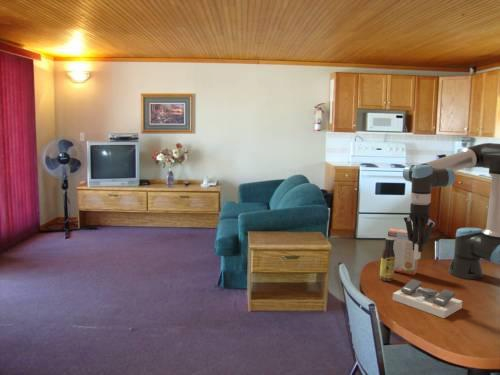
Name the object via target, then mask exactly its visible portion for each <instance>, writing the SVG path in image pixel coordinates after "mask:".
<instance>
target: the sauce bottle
mask: <svg viewBox="0 0 500 375" xmlns="http://www.w3.org/2000/svg"><path fill="white" fill-rule="evenodd" d="M384 244H385V245H384V249H383V250H382V252H381V259H380V265H379V266H380V267H379V268H380V269H379V280H381V281H384V282H392V281H393V279H394V276H395V275H394V274H395V272H394V265H395V254H394V249H393V248H394V247H393V245H394V239H393V238H388V237H385V243H384Z"/></svg>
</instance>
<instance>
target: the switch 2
mask: <svg viewBox="0 0 500 375" xmlns="http://www.w3.org/2000/svg"><path fill="white" fill-rule="evenodd" d="M438 293H439V294H438V295H437V296H436V297H435V298H434V299H433V303H436V304H438V305H441V306H445V305H446V304H447V303H448V302H449V301H450V300H451V299H452V298H454V297H455V296H456V292H455V291H452V290H449V289H446V288H444V289H442V290H441V291H440V292H438Z"/></svg>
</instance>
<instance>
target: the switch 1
mask: <svg viewBox="0 0 500 375" xmlns="http://www.w3.org/2000/svg"><path fill="white" fill-rule="evenodd" d="M421 286H423V282H422V281H420V280H416V279H413V278H412V279H410V280H409V281H408V282H407V283H406V284H405V285H404V286H402V287H401V288H400V290H401V292H403V293H406V294H409V295H411V294H412V293H413V292H415V291H416V290H417V289H418V288H419V287H420V288H421Z"/></svg>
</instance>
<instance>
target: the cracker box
mask: <svg viewBox="0 0 500 375" xmlns="http://www.w3.org/2000/svg"><path fill="white" fill-rule="evenodd" d="M418 237H419V233H418ZM387 238H393V239H394V245H393V247H394V248H393V249H394V254H395V265H394V273H400V274H406V275H410V276H415V275H416V273H417V272H418V260H419V259H418V260H416V259H414V250H413V249H412V248H413V242H412V241H409V240H408V234H407V229H400V228H393V227H391V228H389V229H388V230H387ZM417 243H418V242H417Z"/></svg>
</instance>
